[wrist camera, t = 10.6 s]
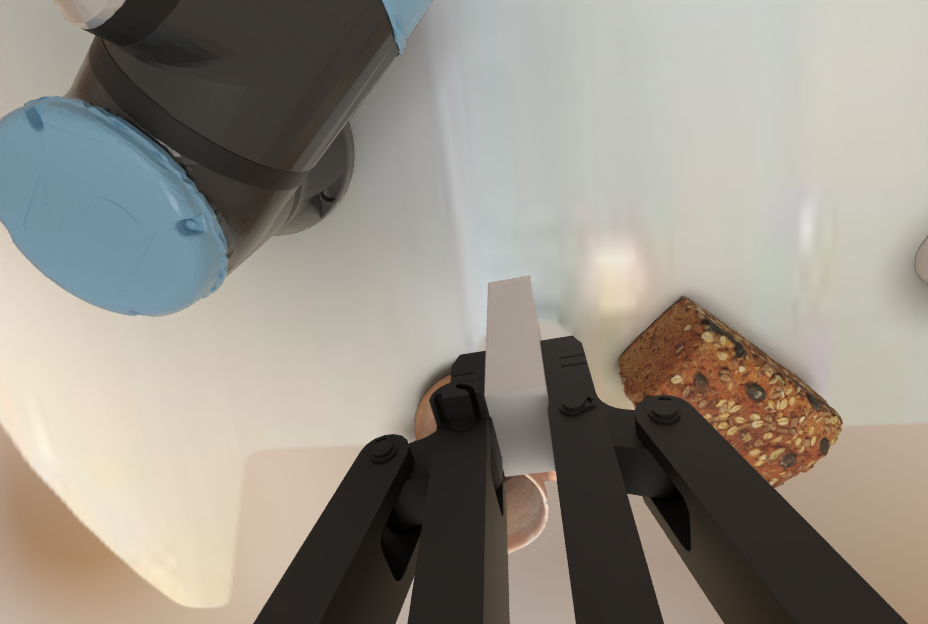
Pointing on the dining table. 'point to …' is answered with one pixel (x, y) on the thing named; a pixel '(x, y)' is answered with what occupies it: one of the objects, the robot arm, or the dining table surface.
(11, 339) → the dining table surface
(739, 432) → the bread
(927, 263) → the coffee cup
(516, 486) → the ceramic jug
